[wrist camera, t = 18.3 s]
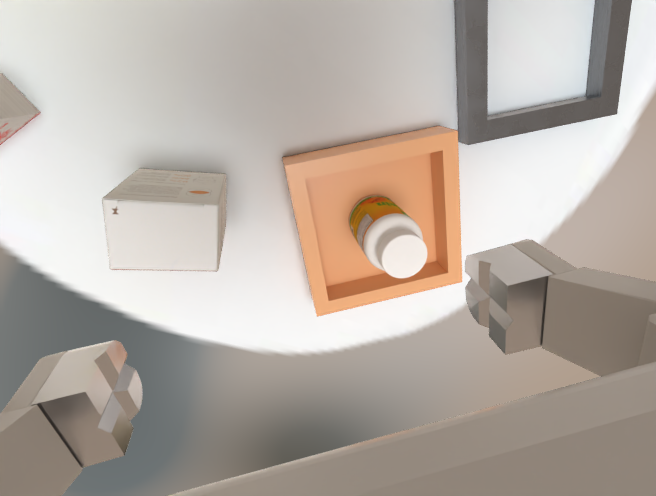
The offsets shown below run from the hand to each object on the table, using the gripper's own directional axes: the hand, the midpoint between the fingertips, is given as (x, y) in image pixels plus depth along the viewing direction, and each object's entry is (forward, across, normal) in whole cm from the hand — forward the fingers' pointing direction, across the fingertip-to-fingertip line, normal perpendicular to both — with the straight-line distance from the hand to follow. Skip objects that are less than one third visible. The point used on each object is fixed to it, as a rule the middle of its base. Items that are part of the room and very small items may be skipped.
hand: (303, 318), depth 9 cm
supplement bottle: (+30, -9, +11) cm, 33 cm away
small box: (+31, +9, +5) cm, 33 cm away
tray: (+31, -9, +11) cm, 34 cm away
